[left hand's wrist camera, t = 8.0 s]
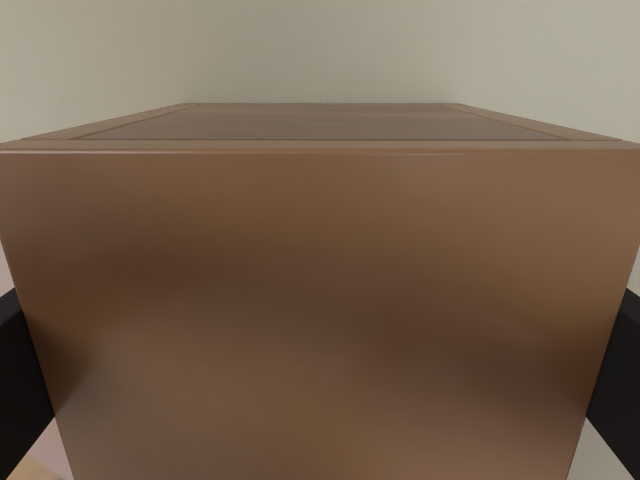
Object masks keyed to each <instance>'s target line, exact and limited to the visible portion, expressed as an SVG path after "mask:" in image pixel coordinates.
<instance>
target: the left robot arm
mask: <svg viewBox="0 0 640 480" xmlns="http://www.w3.org/2000/svg"><path fill="white" fill-rule="evenodd" d="M54 417H55V416H54V412H53V409H52V406H51V403H50V399H49V396H48V393H47V390H46V386H45V383H44V380H43V377H42V373H41V370H40V367H39V364H38V360H37V357H36V354H35V351H34V347H33V344H32V341H31V338H30V334H29V331H28V328H27V325H26V321H25V318H24V315H23V312H22V308H21V305H20V302H19V299H18V295H17V292H16V289H15V287H14V288H13V289H12V290H10V291H9V292H7V293H6V294H4V295H3V296H1V297H0V480H6V479H7V478H8V476H9V475H10V474H11V472H12V471H13V470H14V469H15V467H16V466H17V465H18V463H19V462H20V461H21V459H22V458H23V457H24V456H25V454H26V453H27V452H28V450H29V449H30V448H31V447H32V445H33V444H34V443H35V441H36V440H37V439H38V437H39V436H40V435H41V434H42V432H43V431H44V430H45V428H46V427H47V426H48V424H49V423H50V422H51V421H52V419H53V418H54ZM586 417H587V419H588V420H589V421H590V423H591V424H592V425H593V426H594V428H595V429H596V430H597V432H598V433H599V434H600V436H601V437H602V438H603V439H604V441H605V442H606V443H607V445H608V446H609V447H610V448H611V450H612V451H613V452H614V454H615V455H616V456H617V458H618V459H619V460H620V461H621V463H622V464H623V465H624V467H625V468H626V469H627V470H628V472H629V473H630V474H631V476H632V477H633V478H634V479H635V480H640V297H639V296H638V295H636V294H635V293H633V292H632V291H630V290H629V289H628V288H626V290H625V293H624V296H623V300H622V303H621V306H620V309H619V313H618V316H617V319H616V322H615V325H614V329H613V332H612V335H611V338H610V341H609V345H608V348H607V351H606V354H605V357H604V361H603V364H602V367H601V370H600V373H599V377H598V380H597V383H596V386H595V390H594V393H593V396H592V399H591V402H590V406H589V409H588V412H587V415H586Z"/></svg>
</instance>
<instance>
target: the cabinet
mask: <svg viewBox="0 0 640 480" xmlns="http://www.w3.org/2000/svg"><path fill="white" fill-rule="evenodd" d="M0 240H1V243H2V247H3V250H4V253H5V256H6V260H7V263H8V266H9V269H10V273H11V276H12V279H13V282H14V286H15V289H16V292H17V295H18V299H19V302H20V305H21V308H22V312H23V315H24V318H25V321H26V325H27V328H28V331H29V334H30V338H31V341H32V344H33V347H34V351H35V354H36V357H37V360H38V364H39V367H40V370H41V373H42V377H43V380H44V383H45V386H46V390H47V393H48V396H49V399H50V403H51V406H52V409H53V412H54V416H55V419H56V422H57V425H58V429H59V432H60V435H61V438H62V442H63V445H64V448H65V451H66V454H67V458H68V461H69V464H70V468H71V471H72V474H73V477H74V480H566V479H567V476H568V473H569V470H570V467H571V463H572V460H573V457H574V454H575V450H576V447H577V444H578V441H579V438H580V434H581V431H582V428H583V425H584V422H585V418H586V415H587V412H588V409H589V406H590V402H591V399H592V396H593V393H594V390H595V386H596V383H597V380H598V377H599V373H600V370H601V367H602V364H603V361H604V357H605V354H606V351H607V348H608V345H609V341H610V338H611V335H612V332H613V329H614V325H615V322H616V319H617V316H618V313H619V309H620V306H621V303H622V300H623V296H624V293H625V290H626V287H627V284H628V280H629V277H630V274H631V271H632V268H633V264H634V261H635V258H636V255H637V252H638V248H639V245H640V144H638V143H634V142H629V141H623V140H621V139H617V138H612V137H608V136H603V135H598V134H594V133H589V132H585V131H580V130H576V129H571V128H567V127H562V126H558V125H553V124H549V123H544V122H539V121H535V120H530V119H526V118H521V117H517V116H512V115H508V114H503V113H499V112H494V111H490V110H485V109H480V108H476V107H471V106H467V105H463V104H287V103H181V104H177V105H173V106H168V107H164V108H159V109H155V110H150V111H146V112H141V113H137V114H132V115H127V116H123V117H118V118H114V119H109V120H105V121H100V122H95V123H91V124H86V125H82V126H77V127H73V128H68V129H63V130H59V131H54V132H50V133H45V134H41V135H36V136H31V137H27V138H22V139H20V140H13V141H8V142H4V143H0Z"/></svg>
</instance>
